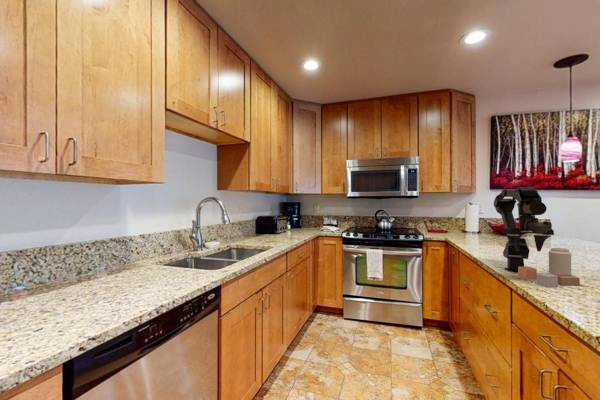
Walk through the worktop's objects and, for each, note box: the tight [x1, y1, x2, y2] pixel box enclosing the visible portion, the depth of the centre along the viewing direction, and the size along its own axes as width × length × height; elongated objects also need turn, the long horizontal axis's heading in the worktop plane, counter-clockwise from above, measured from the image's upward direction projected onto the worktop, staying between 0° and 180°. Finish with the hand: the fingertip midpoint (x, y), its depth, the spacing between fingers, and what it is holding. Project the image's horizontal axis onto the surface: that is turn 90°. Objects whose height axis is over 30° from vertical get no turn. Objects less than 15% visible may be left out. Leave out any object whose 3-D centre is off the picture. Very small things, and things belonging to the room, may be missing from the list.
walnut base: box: [547, 272, 581, 287], centre depth 114 cm, size 7×7×4 cm
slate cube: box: [536, 272, 559, 289], centre depth 111 cm, size 4×4×4 cm
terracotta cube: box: [517, 266, 538, 280], centre depth 122 cm, size 4×4×4 cm
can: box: [548, 247, 572, 275], centre depth 126 cm, size 8×8×12 cm
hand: (528, 251), depth 122 cm, fingers open, 9 cm apart
